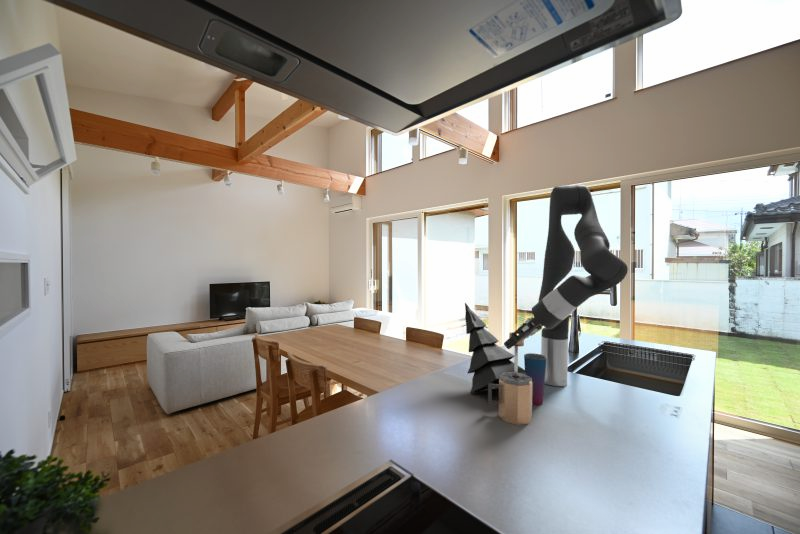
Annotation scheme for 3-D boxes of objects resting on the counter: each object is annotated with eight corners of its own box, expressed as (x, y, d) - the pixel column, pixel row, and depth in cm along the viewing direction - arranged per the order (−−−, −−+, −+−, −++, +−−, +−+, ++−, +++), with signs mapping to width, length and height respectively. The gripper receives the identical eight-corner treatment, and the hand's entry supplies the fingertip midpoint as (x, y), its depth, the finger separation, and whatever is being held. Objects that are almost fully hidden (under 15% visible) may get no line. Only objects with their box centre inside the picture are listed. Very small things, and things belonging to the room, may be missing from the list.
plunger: (505, 393, 100) (506, 332, 100) (517, 392, 101) (519, 332, 100) (512, 398, 96) (513, 335, 96) (525, 397, 97) (526, 335, 97)
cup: (547, 407, 106) (548, 360, 105) (524, 405, 107) (525, 358, 107) (543, 398, 112) (544, 354, 112) (521, 396, 114) (522, 352, 113)
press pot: (486, 412, 101) (486, 373, 101) (520, 409, 104) (521, 371, 103) (500, 426, 93) (501, 383, 93) (537, 423, 95) (537, 381, 95)
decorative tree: (505, 397, 121) (469, 311, 138) (534, 384, 110) (490, 292, 128) (474, 405, 114) (439, 313, 131) (501, 392, 103) (460, 294, 120)
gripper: (551, 295, 99) (510, 330, 107) (535, 299, 88) (491, 338, 95) (571, 315, 95) (527, 350, 103) (556, 322, 84) (509, 360, 92)
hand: (510, 344), depth 99 cm, fingers open, 5 cm apart
